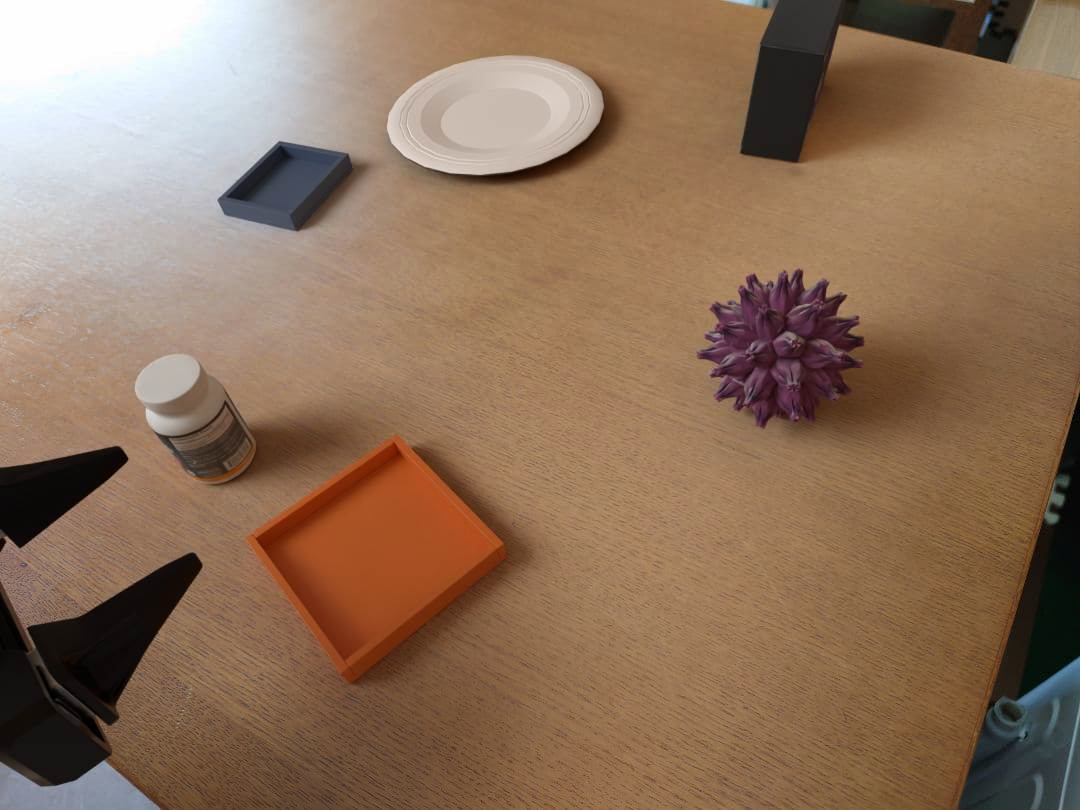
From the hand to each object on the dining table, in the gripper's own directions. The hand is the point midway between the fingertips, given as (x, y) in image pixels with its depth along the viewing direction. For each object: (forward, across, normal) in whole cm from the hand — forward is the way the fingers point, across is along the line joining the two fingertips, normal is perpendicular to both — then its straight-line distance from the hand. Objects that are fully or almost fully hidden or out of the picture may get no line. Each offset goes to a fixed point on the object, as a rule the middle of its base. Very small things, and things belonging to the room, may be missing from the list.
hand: (159, 502), depth 41 cm
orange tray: (+10, -1, +15) cm, 18 cm away
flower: (+40, -12, +13) cm, 44 cm away
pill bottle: (+6, +15, +16) cm, 23 cm away
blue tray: (+28, +43, +14) cm, 53 cm away
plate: (+52, +36, +12) cm, 64 cm away
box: (+74, +11, +10) cm, 75 cm away
